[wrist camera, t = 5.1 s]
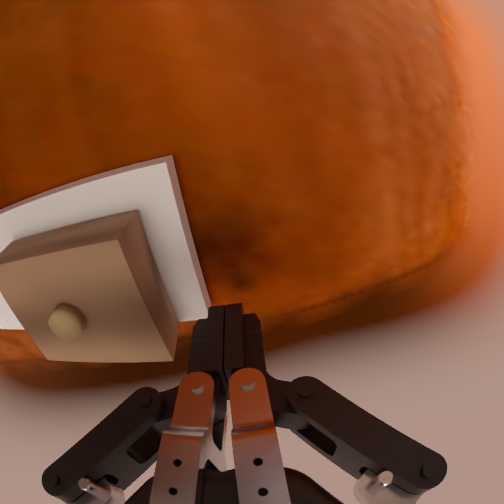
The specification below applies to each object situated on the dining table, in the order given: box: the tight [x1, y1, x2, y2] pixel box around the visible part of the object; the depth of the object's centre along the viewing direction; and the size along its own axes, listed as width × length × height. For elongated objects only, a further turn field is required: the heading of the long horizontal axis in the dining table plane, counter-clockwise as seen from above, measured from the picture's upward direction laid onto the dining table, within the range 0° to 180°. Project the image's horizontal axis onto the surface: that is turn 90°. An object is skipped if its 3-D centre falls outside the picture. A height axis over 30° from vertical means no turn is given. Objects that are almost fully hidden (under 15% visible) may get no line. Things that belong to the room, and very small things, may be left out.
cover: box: [0, 210, 179, 362], centre depth 14 cm, size 8×10×4 cm
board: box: [0, 155, 211, 329], centre depth 15 cm, size 10×25×4 cm, turn 98°
